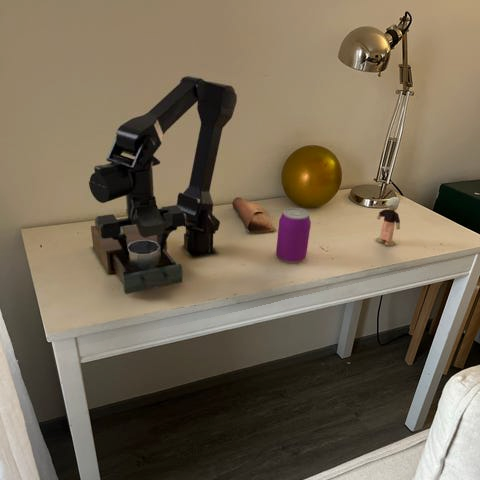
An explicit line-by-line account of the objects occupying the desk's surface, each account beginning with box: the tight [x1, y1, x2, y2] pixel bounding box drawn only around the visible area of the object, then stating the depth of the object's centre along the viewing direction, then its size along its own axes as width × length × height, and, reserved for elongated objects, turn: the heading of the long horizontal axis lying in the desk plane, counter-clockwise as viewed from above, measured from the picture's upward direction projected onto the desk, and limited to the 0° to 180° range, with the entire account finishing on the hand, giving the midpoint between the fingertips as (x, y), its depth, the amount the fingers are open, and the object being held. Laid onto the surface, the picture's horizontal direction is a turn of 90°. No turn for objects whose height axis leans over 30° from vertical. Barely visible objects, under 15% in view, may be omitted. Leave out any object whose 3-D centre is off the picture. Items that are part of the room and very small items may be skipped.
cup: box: [127, 240, 161, 273], centre depth 114 cm, size 7×8×6 cm
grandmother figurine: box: [376, 196, 401, 246], centre depth 135 cm, size 8×4×13 cm, turn 47°
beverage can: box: [275, 207, 312, 264], centre depth 125 cm, size 8×8×12 cm
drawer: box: [110, 249, 183, 295], centre depth 114 cm, size 17×13×4 cm
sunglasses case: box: [231, 196, 275, 234], centre depth 145 cm, size 18×7×7 cm
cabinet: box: [90, 225, 168, 275], centre depth 123 cm, size 14×14×6 cm
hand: (143, 256), depth 113 cm, fingers closed on cup, 7 cm apart
